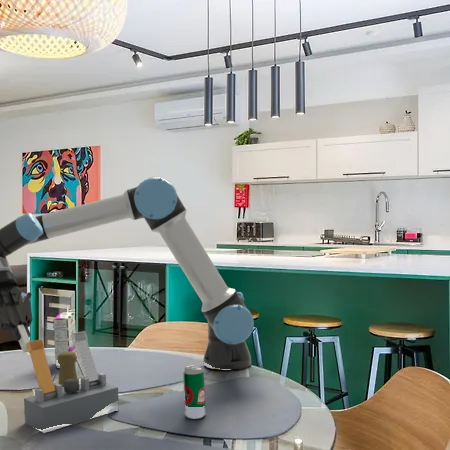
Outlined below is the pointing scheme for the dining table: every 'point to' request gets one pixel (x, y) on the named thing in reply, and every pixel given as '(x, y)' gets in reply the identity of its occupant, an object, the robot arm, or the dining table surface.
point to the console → (69, 404)
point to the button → (71, 385)
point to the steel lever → (85, 357)
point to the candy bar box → (64, 333)
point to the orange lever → (41, 368)
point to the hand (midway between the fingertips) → (27, 348)
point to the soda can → (194, 386)
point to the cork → (67, 367)
